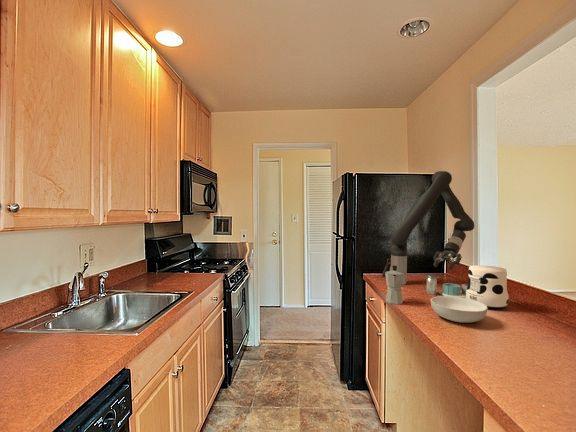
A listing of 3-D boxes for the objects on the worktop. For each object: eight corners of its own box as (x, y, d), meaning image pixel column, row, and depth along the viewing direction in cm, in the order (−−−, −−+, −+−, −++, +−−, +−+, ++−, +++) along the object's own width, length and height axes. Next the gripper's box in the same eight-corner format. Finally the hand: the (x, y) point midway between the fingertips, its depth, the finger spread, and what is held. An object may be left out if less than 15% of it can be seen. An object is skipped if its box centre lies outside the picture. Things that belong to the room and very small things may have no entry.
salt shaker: (428, 294, 170) (428, 276, 170) (424, 292, 175) (425, 274, 175) (438, 295, 170) (438, 276, 170) (434, 292, 175) (434, 274, 175)
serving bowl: (456, 330, 120) (457, 312, 119) (419, 313, 140) (420, 297, 140) (500, 325, 125) (500, 308, 125) (458, 309, 145) (458, 294, 145)
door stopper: (395, 276, 218) (396, 258, 218) (396, 277, 212) (396, 260, 212) (382, 275, 221) (382, 257, 221) (382, 276, 215) (382, 259, 215)
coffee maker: (403, 306, 148) (404, 268, 148) (384, 304, 151) (384, 267, 151) (403, 298, 163) (403, 263, 162) (385, 296, 165) (385, 262, 165)
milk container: (508, 304, 154) (508, 267, 154) (509, 313, 140) (509, 273, 140) (467, 298, 164) (467, 263, 163) (464, 306, 149) (465, 268, 149)
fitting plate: (448, 298, 163) (448, 287, 163) (438, 292, 174) (439, 282, 174) (482, 299, 163) (482, 288, 163) (470, 293, 174) (470, 283, 174)
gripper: (439, 240, 188) (427, 261, 182) (463, 242, 176) (452, 265, 170) (444, 248, 191) (432, 269, 185) (468, 251, 179) (457, 274, 173)
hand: (441, 267), depth 178 cm, fingers open, 8 cm apart
